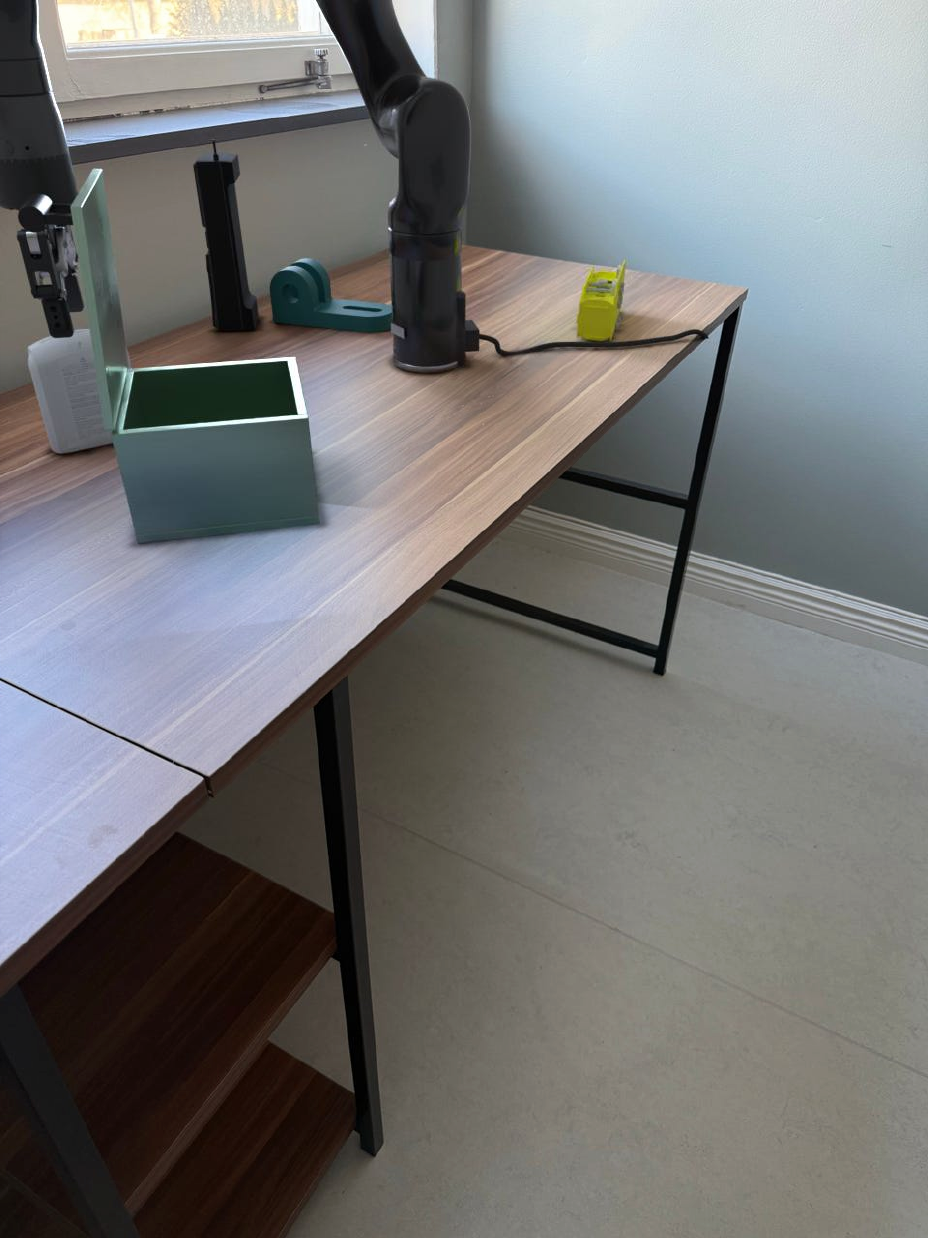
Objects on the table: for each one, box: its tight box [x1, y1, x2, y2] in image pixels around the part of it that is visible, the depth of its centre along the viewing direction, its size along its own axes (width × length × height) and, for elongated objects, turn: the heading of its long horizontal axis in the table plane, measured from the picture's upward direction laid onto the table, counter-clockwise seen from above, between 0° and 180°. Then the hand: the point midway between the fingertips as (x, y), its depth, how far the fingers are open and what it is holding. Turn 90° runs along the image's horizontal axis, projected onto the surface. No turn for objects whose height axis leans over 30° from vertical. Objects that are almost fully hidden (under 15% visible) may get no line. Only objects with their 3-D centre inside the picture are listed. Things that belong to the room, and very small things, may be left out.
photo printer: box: [27, 328, 133, 455], centre depth 96 cm, size 10×4×12 cm, turn 123°
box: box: [111, 356, 320, 544], centre depth 87 cm, size 17×16×11 cm
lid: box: [17, 168, 128, 430], centre depth 76 cm, size 18×16×6 cm
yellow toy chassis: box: [576, 259, 626, 342], centre depth 130 cm, size 16×6×8 cm, turn 167°
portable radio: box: [193, 138, 260, 332], centre depth 126 cm, size 8×6×25 cm
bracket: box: [269, 257, 392, 333], centre depth 132 cm, size 18×7×8 cm, turn 73°
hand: (68, 323), depth 92 cm, fingers open, 8 cm apart
